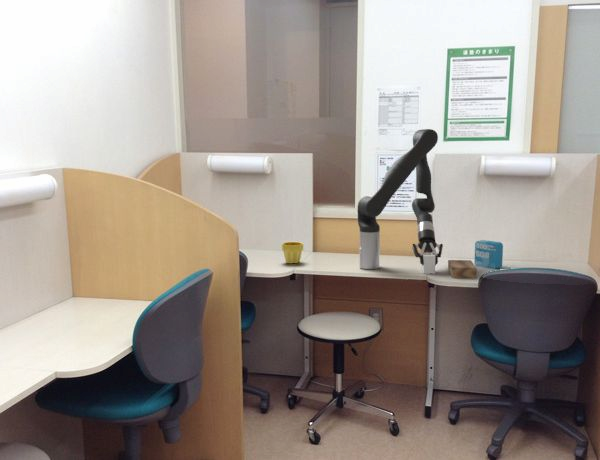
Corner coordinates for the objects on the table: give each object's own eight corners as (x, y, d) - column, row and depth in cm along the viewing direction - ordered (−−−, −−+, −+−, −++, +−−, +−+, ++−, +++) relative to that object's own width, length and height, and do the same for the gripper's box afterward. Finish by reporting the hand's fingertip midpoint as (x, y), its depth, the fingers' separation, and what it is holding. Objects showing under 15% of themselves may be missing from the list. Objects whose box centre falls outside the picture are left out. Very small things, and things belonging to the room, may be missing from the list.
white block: (423, 273, 261) (423, 256, 260) (422, 271, 267) (422, 253, 266) (435, 273, 261) (435, 256, 260) (433, 271, 266) (433, 253, 265)
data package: (474, 265, 277) (474, 240, 275) (479, 264, 280) (480, 239, 278) (496, 269, 268) (497, 243, 266) (502, 268, 270) (503, 242, 269)
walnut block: (452, 278, 253) (452, 267, 252) (448, 270, 268) (448, 260, 268) (476, 279, 251) (476, 267, 251) (470, 271, 267) (470, 260, 266)
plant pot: (303, 265, 283) (302, 245, 282) (281, 265, 284) (281, 245, 282) (303, 260, 293) (303, 241, 292) (283, 260, 294) (282, 241, 292)
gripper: (411, 228, 269) (413, 259, 259) (442, 228, 268) (446, 259, 258) (409, 238, 275) (412, 268, 265) (440, 238, 274) (444, 268, 264)
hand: (429, 264), depth 261 cm, fingers closed on white block, 5 cm apart
